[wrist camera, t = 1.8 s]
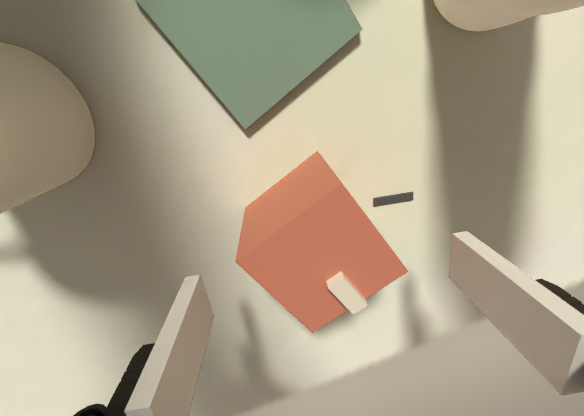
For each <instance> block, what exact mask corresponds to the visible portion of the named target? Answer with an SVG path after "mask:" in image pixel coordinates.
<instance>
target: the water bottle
mask: <svg viewBox="0 0 584 416" xmlns="http://www.w3.org/2000/svg"><path fill="white" fill-rule="evenodd" d="M433 1H434V3H435V5H436V7H437V9H438V10H439V12H440V13H441V15H442V16H443V17H444V18H445V19H446V20H447V21H448V22H450V23H451V24H452V25H454V26H456V27H458V28H460V29H463V30H468V31H486V30H492V29H496V28H500V27H503V26H507V25H510V24H513V23H516V22H519V21H522V20H525V19H527V18H529V17H532V16H535V15H546V14H551V13H557V12H561V11H566V10H570V9H573V8H577V7H581V6H584V0H433Z"/></svg>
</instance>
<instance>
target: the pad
mask: <svg viewBox="0 0 584 416" xmlns="http://www.w3.org/2000/svg"><path fill="white" fill-rule="evenodd" d="M136 1H137V2H138V3H139V4H140V6H141V7H142V8H143V9H144V10H145V12H146V13H147V14H148V15H149V16H150V18H151V19H152V20H153V21H154V22H155V23H156V25H157V26H158V27H159V28H160V29H161V31H162V32H163V33H164V34H165V35H166V36H167V38H168V39H169V40H170V41H171V42H172V44H173V45H174V46H175V47H176V48H177V50H178V51H179V52H180V53H181V54H182V55H183V57H184V58H185V59H186V60H187V61H188V63H189V64H190V65H191V66H192V67H193V68H194V70H195V71H196V72H197V73H198V74H199V76H200V77H201V78H202V79H203V80H204V82H205V83H206V84H207V85H208V86H209V87H210V89H211V90H212V91H213V92H214V93H215V95H216V96H217V97H218V98H219V99H220V100H221V102H222V103H223V104H224V105H225V106H226V108H227V109H228V110H229V111H230V112H231V114H232V115H233V116H234V117H235V118H236V119H237V121H238V122H239V123H240V124H241V125H242V127H243V128H244V129H247V128H248V127H249V126H250V125H251V124H252V123H254V122H255V121H256V120H257V119H258V118H259V117H261V116H262V115H263V114H264V113H265V112H266V111H268V110H269V109H270V108H271V107H272V106H273V105H275V104H276V103H277V102H278V101H279V100H280V99H282V98H283V97H284V96H285V95H286V94H287V93H289V92H290V91H291V90H292V89H293V88H294V87H296V86H297V85H298V84H299V83H300V82H301V81H303V80H304V79H305V78H306V77H307V76H308V75H310V74H311V73H312V72H313V71H314V70H315V69H317V68H318V67H319V66H320V65H321V64H322V63H324V62H325V61H326V60H327V59H328V58H330V57H331V56H332V55H333V54H334V53H335V52H337V51H338V50H339V49H340V48H341V47H342V46H344V45H345V44H346V43H347V42H348V41H349V40H351V39H352V38H353V37H354V36H355V35H356V34H358V33H359V32H360V31H361V30H362V27H361V26H360V24H359V22H358V20H357V19H356V17H355V15H354V13H353V12H352V10H351V8H350V6H349V5H348V3H347V1H346V0H136Z"/></svg>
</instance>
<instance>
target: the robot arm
mask: <svg viewBox="0 0 584 416" xmlns="http://www.w3.org/2000/svg"><path fill="white" fill-rule="evenodd" d="M449 278H450V279H451V280H452V281H453V282H454V283H455V284H456V285H457V286H458V287H459V289H460V290H461V291H462V292H463V293H464V294H465V295H466V296H467V297H468V298H469V299H470V300H471V301H472V302H473V303H474V304H475V305H476V306H477V307H478V309H479V310H480V311H481V312H482V313H483V314H484V315H485V316H486V317H487V318H488V319H489V320H490V321H491V322H492V323H493V324H494V325H495V326H496V327H497V328H498V330H499V331H501V333H502V334H503V335H504V336H505V337H506V338H507V339H508V340H509V341H510V342H511V343H512V344H513V345H514V346H515V347H516V348H517V349H518V351H519V352H520V353H521V354H522V355H523V356H524V357H525V358H526V359H527V360H528V361H529V362H530V363H531V364H532V365H533V366H534V367H535V369H537V370H538V372H539V373H540V374H541V375H542V376H543V377H544V378H545V379H546V380H547V381H548V382H549V383H550V384H551V385H552V386H553V387H554V389H555V390H556V391H557V392H558V393H559V394H560V395H567V394H572V393H578V392H583V391H584V305H583V304H582V302H581V301H579V300H577V299H576V298H575V297H571V295H570V294H569V293H567V292H566V291H564V290H563V289H562V288H560V287H559V286H557V285H555V284H552V283H550V282H548V281H545V280H543V279H537V280H534V279H533V278H532V277H530V276H529V275H527V274H526V273H525V272H523V271H522V270H520V269H519V268H518V267H516V266H515V265H513V264H512V263H511V262H509V261H508V260H507V259H505V258H504V257H502V256H501V255H500V254H498V253H497V252H495V251H494V250H493V249H491V248H490V247H488V246H487V245H486V244H484V243H483V242H482V241H480V240H479V239H477V238H476V237H475V236H473V235H472V234H470V233H469V232H468V231H464V232H458V233H452V243H451V255H450V267H449ZM213 316H214V315H213V312H212V309H211V306H210V303H209V300H208V297H207V294H206V291H205V288H204V284H203V281H202V278H201V275H200V274H199V275H193V276H187V277H185V279H184V281H183V283H182V285H181V287H180V290H179V292H178V294H177V296H176V298H175V301H174V303H173V305H172V307H171V309H170V312H169V314H168V316H167V318H166V320H165V323H164V325H163V327H162V329H161V331H160V334H159V336H158V338H157V340H156V342H155V343H153V344H147V345H143V346H142V347H141V348H140V349H139V350H138V352H137V353H136V354H135V355H134V356H133V357H132V359H131V361H130V363H129V365H128V367H127V371H125V373H124V375H123V377H122V379H121V382H120V383H119V385H118V387H117V389H116V390H115V392H114V394H113V396H112V398H111V400H110V402H109V404H108V406H107V408H106V407H105V406H104V405H102V404H94V405H90V406H87V407H86V408H84V409H82V410H80V411H78V412H77V413H76V414H75V415H74V416H188V415H189V411H190V407H191V404H192V400H193V396H194V392H195V388H196V384H197V380H198V376H199V372H200V368H201V364H202V360H203V356H204V352H205V348H206V344H207V340H208V336H209V332H210V328H211V324H212V320H213Z"/></svg>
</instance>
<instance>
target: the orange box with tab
mask: <svg viewBox="0 0 584 416" xmlns="http://www.w3.org/2000/svg"><path fill="white" fill-rule="evenodd" d="M236 263H237V264H238V265H239V266H240V267H242V268H243V269H244V270H245V271H246V272H247V273H248V274H249V275H250V276H251V277H252V278H253V279H254V280H256V281H257V282H258V283H259V284H260V285H261V286H262V287H263V288H264V289H265V290H266V291H267V292H269V293H270V294H271V295H272V296H273V297H274V298H275V299H276V300H277V301H278V302H279V303H280V304H281V305H283V306H284V307H285V308H286V309H287V310H288V311H289V312H290V313H291V314H292V315H293V316H294V317H296V318H297V319H298V320H299V321H300V322H301V323H302V324H303V325H304V326H305V327H306V328H307V329H308V330H310V331H311V332H312V333H313V332H315V331H316V330H318V329H319V328H321V327H322V326H324V325H325V324H327V323H329V322H330V321H332V320H333V319H335V318H336V317H338V316H340V315H341V314H343V313H344V312H346V311H347V310H349V311H350V312H351V313H352V314H353V315H354V314H355V313H357V312H358V311H360V310H361V309H363V308H365V307H366V306H368V304H367V301H366V298H368V297H369V296H371V295H372V294H374V293H376V292H377V291H379V290H380V289H382V288H383V287H385V286H386V285H388V284H390V283H391V282H393V281H394V280H396V279H397V278H399V277H401V276H402V275H404V274H405V273H407V272H408V270H407V269H406V268H405V266H404V265H403V264H402V262H401V261H400V260H399V258H398V257H397V256H396V254H395V253H394V252H393V250H392V249H391V248H390V246H389V245H388V244H387V242H386V241H385V240H384V238H383V237H382V236H381V234H380V233H379V232H378V230H377V229H376V228H375V226H374V225H373V224H372V222H371V221H370V220H369V218H368V217H367V216H366V214H365V213H364V212H363V210H362V209H361V208H360V207H359V205H358V204H357V203H356V201H355V200H354V199H353V197H352V196H351V195H350V193H349V192H348V191H347V189H346V188H345V187H344V185H343V184H342V183H341V181H340V180H339V179H338V177H337V176H336V175H335V173H334V172H333V171H332V170H331V168H330V167H329V166H328V164H327V163H326V162H325V160H324V159H323V158H322V156H321V155H320V154H319V152H318V151H317V152H316V153H314V154H313V155H312V156H311V157H309V158H308V159H307V160H305V161H304V162H303V163H302V164H300V165H299V166H298V167H297V168H295V169H294V170H293V171H291V172H290V173H289V174H288V175H286V176H285V177H284V178H283V179H281V180H280V181H279V182H277V183H276V184H275V185H274V186H272V187H271V188H270V189H269V190H267V191H266V192H265V193H264V194H262V195H261V196H260V197H258V198H257V199H256V200H255V201H253V202H252V203H251V204H250V205H248V206H247V207H246V208H245V213H244V218H243V224H242V229H241V235H240V240H239V245H238V251H237V256H236Z"/></svg>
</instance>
